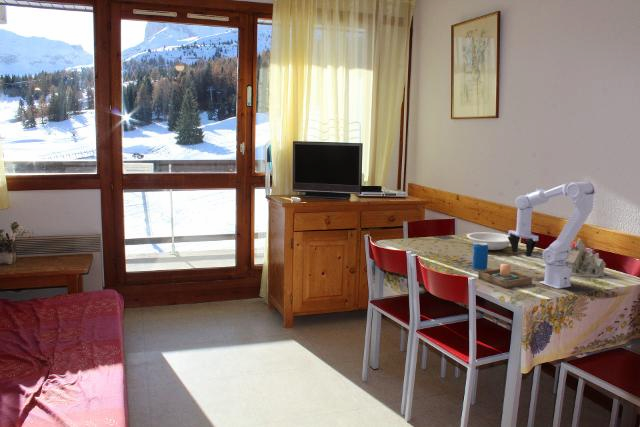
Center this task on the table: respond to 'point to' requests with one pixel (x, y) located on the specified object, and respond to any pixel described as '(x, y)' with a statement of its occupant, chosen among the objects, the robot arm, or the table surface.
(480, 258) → the beverage can
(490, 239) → the soup bowl
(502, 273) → the terracotta peg
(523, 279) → the walled tray
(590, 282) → the table surface
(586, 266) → the ceramic cottage
